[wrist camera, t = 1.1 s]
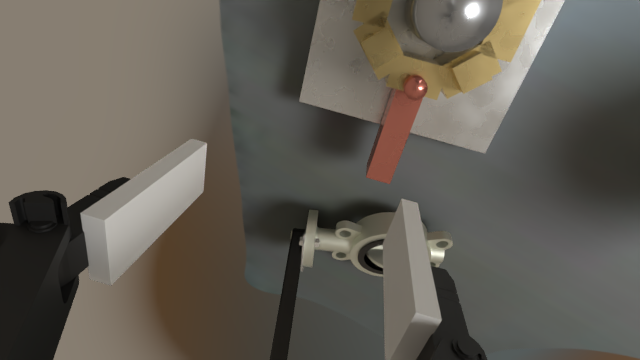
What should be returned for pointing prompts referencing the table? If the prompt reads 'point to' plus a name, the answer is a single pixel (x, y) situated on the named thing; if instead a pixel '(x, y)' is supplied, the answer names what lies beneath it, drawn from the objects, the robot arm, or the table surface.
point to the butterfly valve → (345, 243)
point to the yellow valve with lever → (428, 71)
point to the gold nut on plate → (428, 41)
